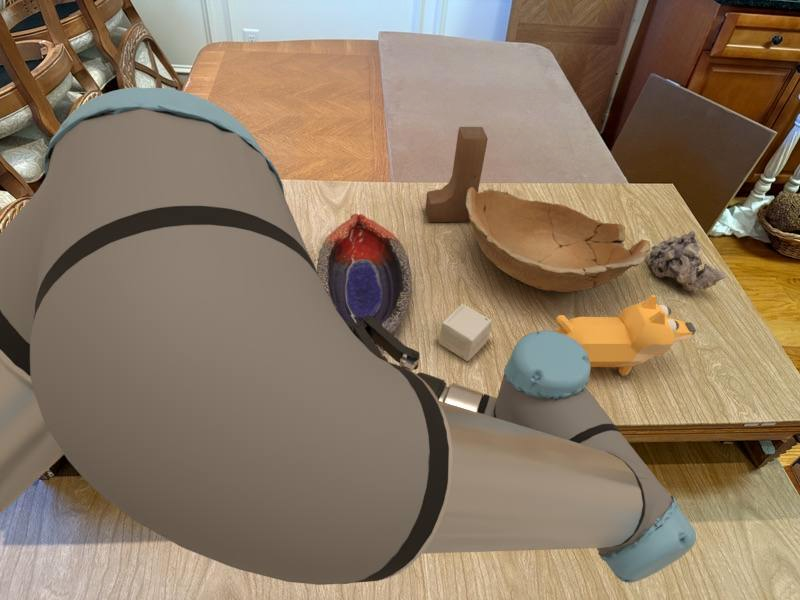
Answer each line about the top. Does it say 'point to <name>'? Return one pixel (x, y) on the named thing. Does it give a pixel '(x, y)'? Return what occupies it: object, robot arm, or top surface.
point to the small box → (465, 332)
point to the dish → (366, 272)
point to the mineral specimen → (683, 263)
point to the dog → (627, 335)
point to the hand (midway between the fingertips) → (281, 355)
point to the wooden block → (459, 178)
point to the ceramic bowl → (549, 242)
